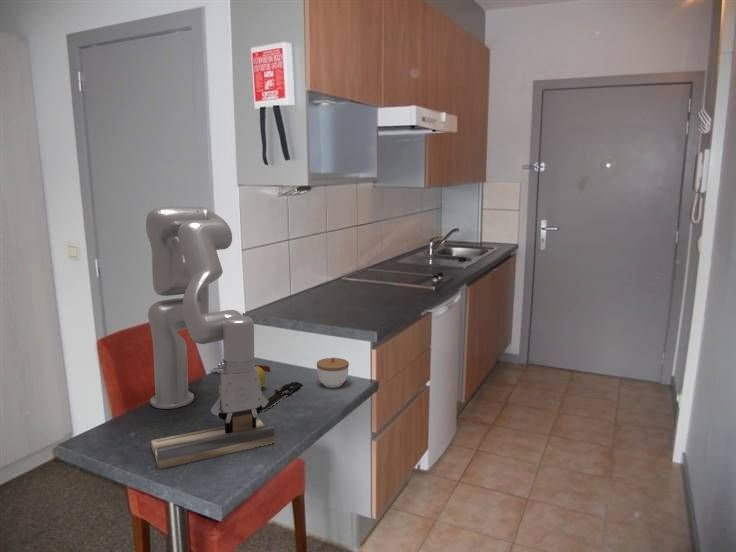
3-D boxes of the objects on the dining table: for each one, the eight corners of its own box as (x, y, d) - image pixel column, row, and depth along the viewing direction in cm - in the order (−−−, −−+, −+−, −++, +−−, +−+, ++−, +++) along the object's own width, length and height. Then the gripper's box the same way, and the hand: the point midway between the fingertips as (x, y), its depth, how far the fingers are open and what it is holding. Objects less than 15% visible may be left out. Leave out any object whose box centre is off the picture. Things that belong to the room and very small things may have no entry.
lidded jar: (353, 382, 186) (354, 355, 184) (339, 392, 176) (339, 364, 175) (326, 377, 190) (326, 351, 189) (310, 387, 181) (310, 360, 179)
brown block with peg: (224, 426, 145) (223, 405, 144) (242, 423, 147) (242, 401, 146) (233, 440, 137) (232, 417, 136) (252, 435, 139) (252, 413, 138)
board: (150, 446, 138) (150, 429, 137) (258, 424, 151) (258, 409, 151) (159, 469, 127) (158, 451, 126) (274, 443, 140) (273, 427, 140)
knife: (262, 415, 159) (262, 411, 159) (244, 411, 161) (244, 406, 161) (307, 387, 181) (307, 383, 181) (291, 384, 184) (291, 380, 184)
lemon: (265, 392, 175) (264, 368, 174) (247, 393, 174) (247, 369, 173) (265, 386, 181) (265, 363, 180) (248, 386, 180) (248, 363, 179)
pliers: (218, 368, 200) (218, 361, 199) (271, 371, 197) (271, 364, 196) (204, 378, 188) (204, 371, 188) (260, 382, 185) (260, 375, 185)
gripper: (208, 374, 130) (210, 446, 133) (276, 364, 138) (277, 432, 141) (201, 365, 136) (203, 434, 139) (267, 356, 144) (267, 421, 147)
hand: (240, 432), depth 140 cm, fingers closed on brown block with peg, 5 cm apart
